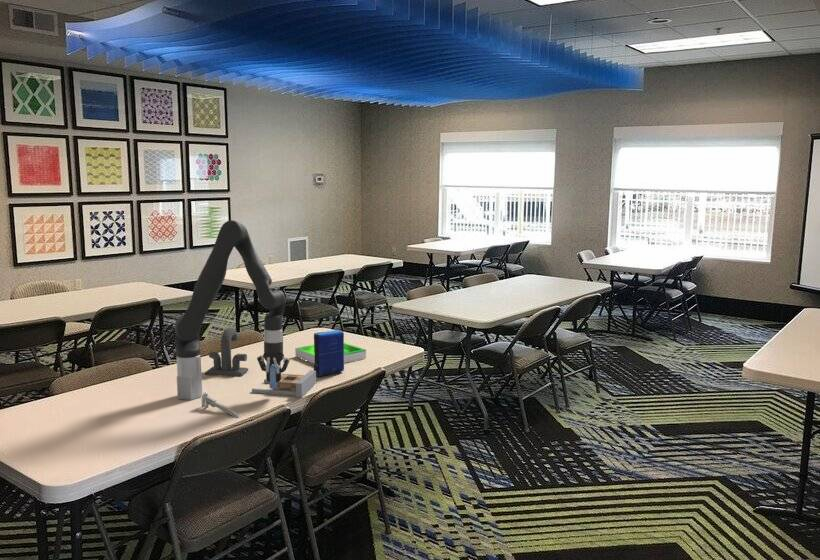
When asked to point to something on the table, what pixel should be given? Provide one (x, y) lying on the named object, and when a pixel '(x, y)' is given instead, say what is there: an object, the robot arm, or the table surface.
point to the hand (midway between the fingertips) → (273, 381)
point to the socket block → (288, 382)
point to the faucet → (227, 357)
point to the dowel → (273, 377)
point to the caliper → (216, 405)
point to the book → (329, 352)
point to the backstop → (301, 386)
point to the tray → (349, 353)
